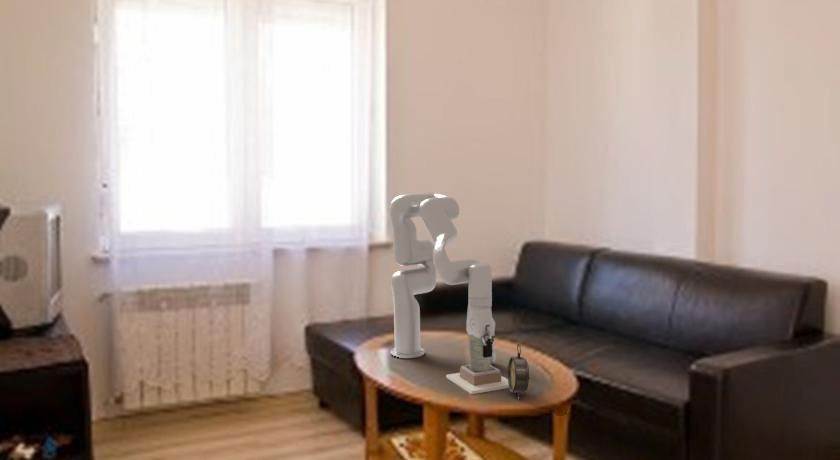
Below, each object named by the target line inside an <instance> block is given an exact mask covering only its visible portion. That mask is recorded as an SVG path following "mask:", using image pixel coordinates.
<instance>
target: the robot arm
mask: <svg viewBox="0 0 840 460" xmlns="http://www.w3.org/2000/svg"><path fill="white" fill-rule="evenodd" d="M459 215H460V206H459V204H458V201H457V200H456V199H454V198H453V197H452V196H448V195H444V194H441V193H437V192H436V193H435V192H421V193H420V192H419V193H416V192H415V193H404V194H400V195H397V196H396V197H394V198H393V199H392V200H391V203H390V206H389V217H390V221H391V226H392V232H393V233H392V235H393V236H392V239H393V240H392V241H393V242H392V243H393V257H394V258H393V259H394V261H395V263H396V265H398V266H401V267H410V266H417V267H415V268H406V269H401V270H398V271H396V272H394V273H393V274H392V276H391V278H390V288H391V291H392V292H391V293H392V300H393V327H394V329H393V330H394V331H393V333H394V334H393V335H394V337H393V338H394V342H393V343H394V348H391V350H390V355H391V354H392V355H393V356H392V355H391V356H392V357H394V356H396V357H395V358H397V357H399V358H398V359H415V358H420V357H423V355H425V349H424V348H422V347H421V311H420V304H419V302H418V300H417V299H416V298H415V295H420V294H426V293H429V292H432V291H433V290H434V289H435V288H436V285H437V274H438V275H439V277H440V279H441V280H442V282H444V283H445V284H446V285H448V286H449V285H450V286H454V285H460V284H467V283H468V286H467V287H468V290H467V291H468V302H467V303H468V304H467V310H466V311H467V312H466V326H465V329H466V333H467V336H468V335H469V334H471V335H473V336H474V337H476V338H478V339H481V338H482V340H483V343H484V345H483V357H484V358H486V357H492V345H493V342H494V341H495V337H496V334H495V331H494V332H493V324H492V318H493V313H492V306H493V304H492V303H493V302H492V301H493V296H492V295H493V292H492V291H493V290H492V289H493V287H492V286H493V285H492V284H493V282H492V281H493V277H492V275H493V274H492V273H493V269H492V266H491V264H489V263H487V262H480V261H478V260H475V259H473V258H469V259H462V260H455V261H454V260H453V261H451V260H450V257H449V256H448V254H447V253H446V247H447V246H448V245H450V244H451V243H453V241H454V240H455V239H456V238H457V236H458V230H457V228H456V226H455V225H454V223H453V221H454V220H457V218H458V217H459ZM420 217H421V218H422V220H423V223H424V224H425V226H426V228H427V230H428V232H429V234H430V236H431V238H432V239H433V242H434V243H433V242H432V241H431V240H430V239H427V238H423V237H421V238H417V237H418V236H417V227H416V225H415V223H414V221H413V220H412V219H411V218H420ZM484 335H486V336H484ZM487 338H488V339H487ZM486 339H487V341H486ZM494 343H495V342H494Z"/></svg>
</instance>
